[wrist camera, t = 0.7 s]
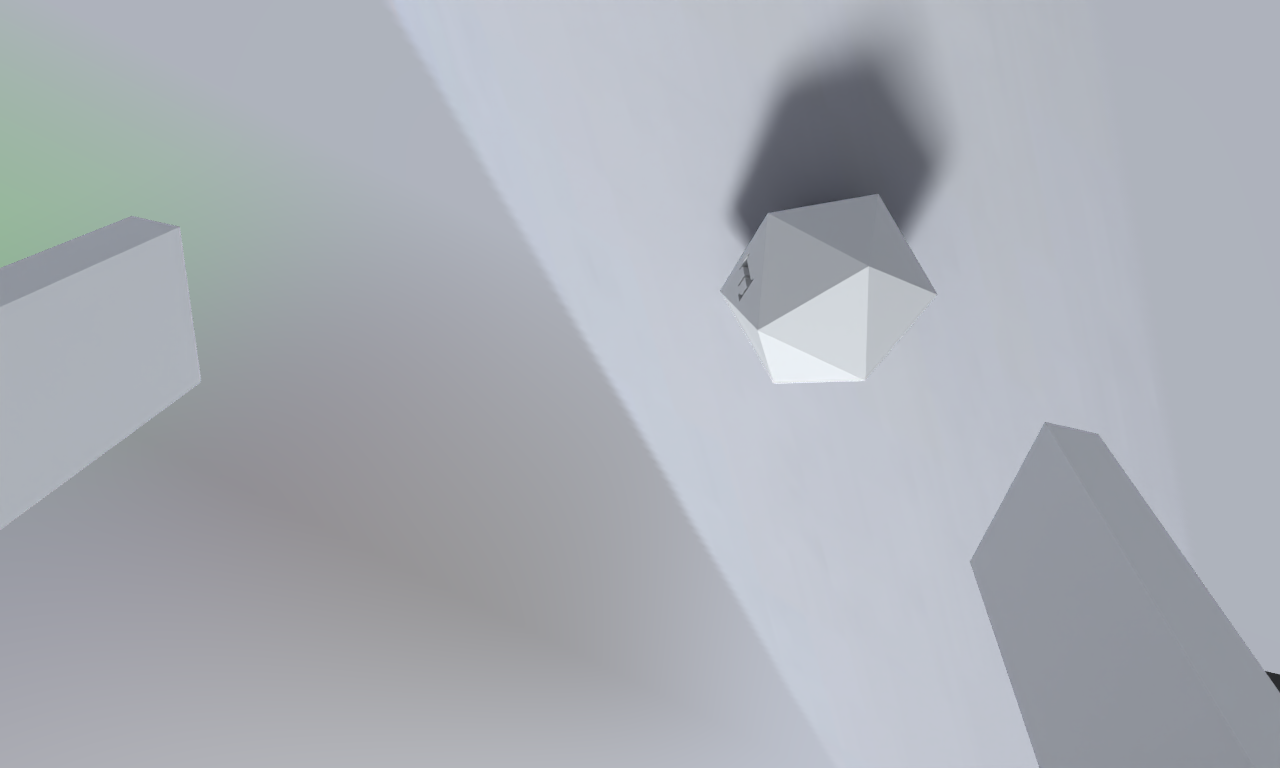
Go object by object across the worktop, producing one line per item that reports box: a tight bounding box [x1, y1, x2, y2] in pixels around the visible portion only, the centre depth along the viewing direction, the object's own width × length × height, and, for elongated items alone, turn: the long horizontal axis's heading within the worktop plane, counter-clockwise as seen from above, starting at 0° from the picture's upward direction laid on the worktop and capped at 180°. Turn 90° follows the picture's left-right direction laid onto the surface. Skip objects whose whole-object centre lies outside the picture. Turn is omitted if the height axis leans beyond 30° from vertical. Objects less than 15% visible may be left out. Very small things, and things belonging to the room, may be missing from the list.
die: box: [720, 194, 937, 384], centre depth 34 cm, size 8×9×10 cm
